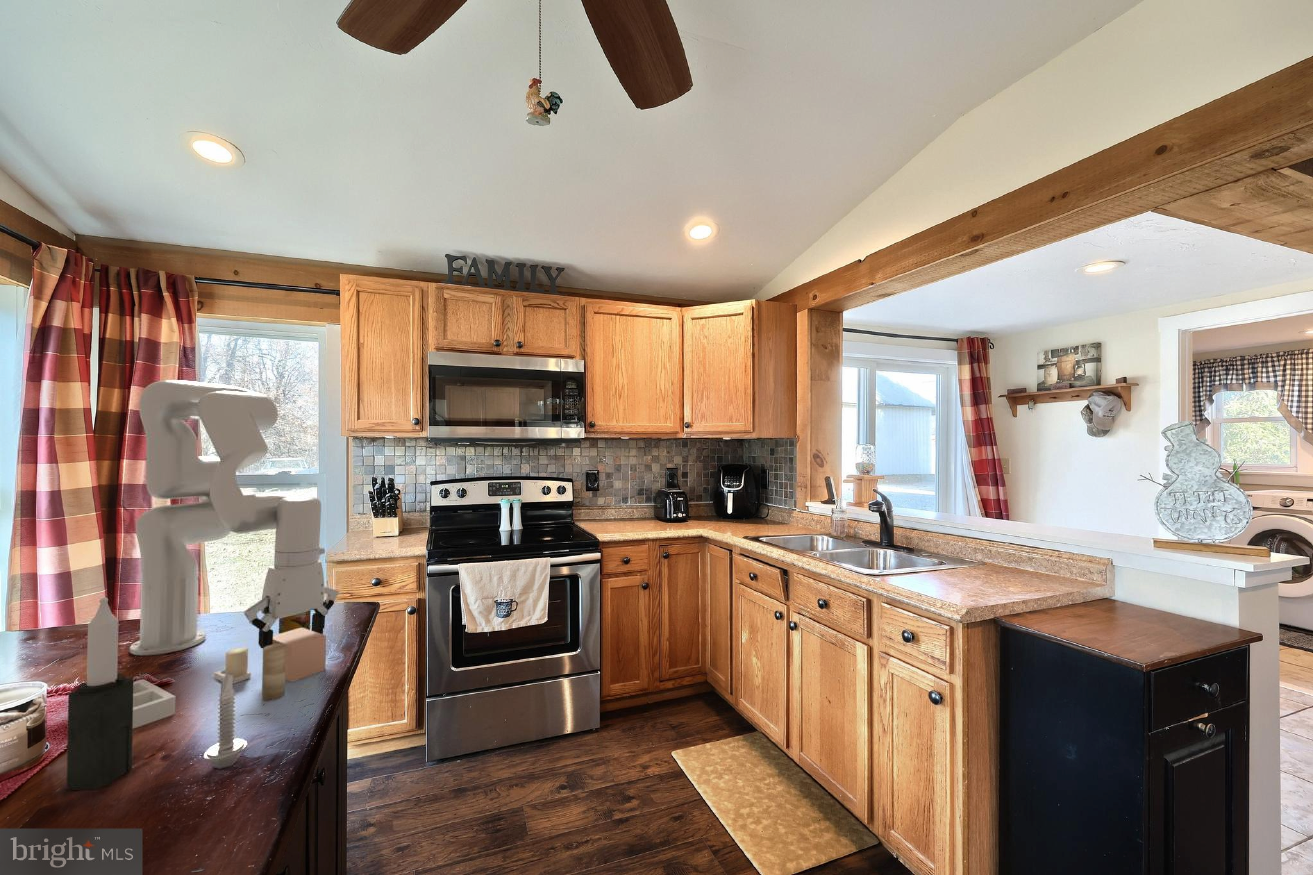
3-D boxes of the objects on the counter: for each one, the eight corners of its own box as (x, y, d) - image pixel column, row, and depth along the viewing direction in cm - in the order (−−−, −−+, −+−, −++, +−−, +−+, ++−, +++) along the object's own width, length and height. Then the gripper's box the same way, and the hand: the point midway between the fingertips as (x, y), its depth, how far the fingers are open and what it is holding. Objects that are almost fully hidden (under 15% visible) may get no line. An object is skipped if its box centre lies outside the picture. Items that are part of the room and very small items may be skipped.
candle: (98, 767, 75) (101, 592, 75) (136, 765, 76) (140, 592, 76) (60, 790, 70) (64, 603, 70) (102, 789, 71) (106, 603, 71)
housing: (266, 671, 106) (267, 637, 106) (300, 660, 112) (301, 627, 112) (291, 682, 102) (291, 646, 102) (325, 669, 108) (326, 635, 108)
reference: (214, 677, 103) (214, 649, 103) (235, 670, 106) (235, 643, 106) (230, 685, 100) (230, 656, 100) (251, 677, 103) (251, 649, 104)
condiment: (311, 645, 120) (313, 592, 120) (265, 653, 116) (267, 598, 116) (311, 635, 126) (312, 585, 126) (268, 642, 122) (269, 590, 122)
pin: (258, 697, 96) (259, 648, 96) (278, 690, 99) (279, 642, 99) (268, 702, 94) (269, 652, 94) (288, 694, 97) (289, 645, 97)
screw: (253, 752, 79) (233, 772, 74) (218, 754, 79) (195, 775, 74) (255, 666, 79) (234, 680, 75) (219, 667, 79) (196, 682, 74)
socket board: (88, 712, 90) (88, 695, 90) (142, 695, 96) (143, 679, 96) (118, 733, 84) (119, 714, 84) (174, 713, 90) (175, 696, 90)
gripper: (329, 547, 117) (325, 624, 117) (238, 562, 102) (233, 650, 102) (349, 553, 113) (345, 632, 113) (258, 569, 98) (253, 660, 98)
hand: (292, 640), depth 108 cm, fingers open, 9 cm apart
